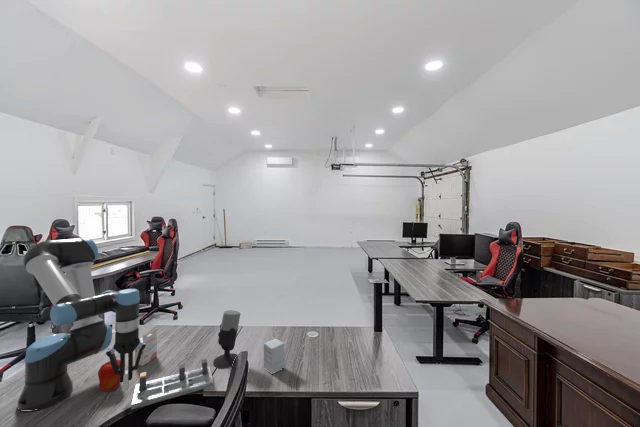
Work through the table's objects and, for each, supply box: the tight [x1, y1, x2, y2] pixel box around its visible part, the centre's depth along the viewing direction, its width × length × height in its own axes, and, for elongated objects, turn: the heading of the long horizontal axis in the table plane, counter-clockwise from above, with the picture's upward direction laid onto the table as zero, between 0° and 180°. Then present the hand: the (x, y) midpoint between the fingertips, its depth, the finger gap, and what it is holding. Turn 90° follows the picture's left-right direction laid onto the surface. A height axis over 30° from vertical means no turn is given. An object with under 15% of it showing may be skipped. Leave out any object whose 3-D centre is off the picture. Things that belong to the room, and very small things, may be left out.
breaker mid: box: [178, 363, 186, 381], centre depth 112 cm, size 3×3×6 cm
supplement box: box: [263, 338, 285, 373], centre depth 126 cm, size 7×7×13 cm
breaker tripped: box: [138, 371, 148, 391], centre depth 105 cm, size 3×3×7 cm
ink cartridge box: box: [134, 328, 158, 367], centre depth 130 cm, size 9×5×15 cm, turn 168°
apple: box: [97, 359, 122, 392], centre depth 110 cm, size 9×8×12 cm
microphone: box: [212, 310, 241, 370], centre depth 131 cm, size 13×13×25 cm
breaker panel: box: [130, 365, 214, 410], centre depth 111 cm, size 29×13×4 cm, turn 119°
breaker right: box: [200, 358, 208, 375], centre depth 116 cm, size 3×3×6 cm
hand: (126, 388), depth 102 cm, fingers closed
